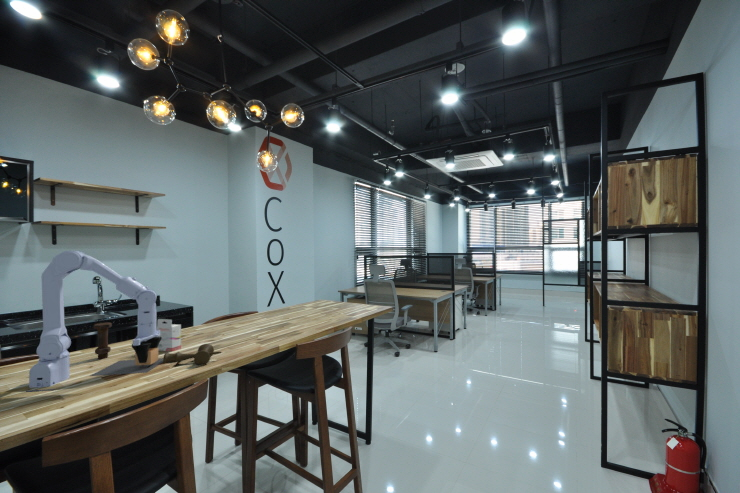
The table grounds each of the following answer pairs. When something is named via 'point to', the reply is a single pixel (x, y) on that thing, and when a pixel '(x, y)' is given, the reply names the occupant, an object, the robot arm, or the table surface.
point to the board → (127, 368)
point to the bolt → (102, 340)
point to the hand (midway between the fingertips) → (147, 360)
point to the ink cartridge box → (169, 335)
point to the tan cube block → (150, 359)
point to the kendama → (192, 355)
